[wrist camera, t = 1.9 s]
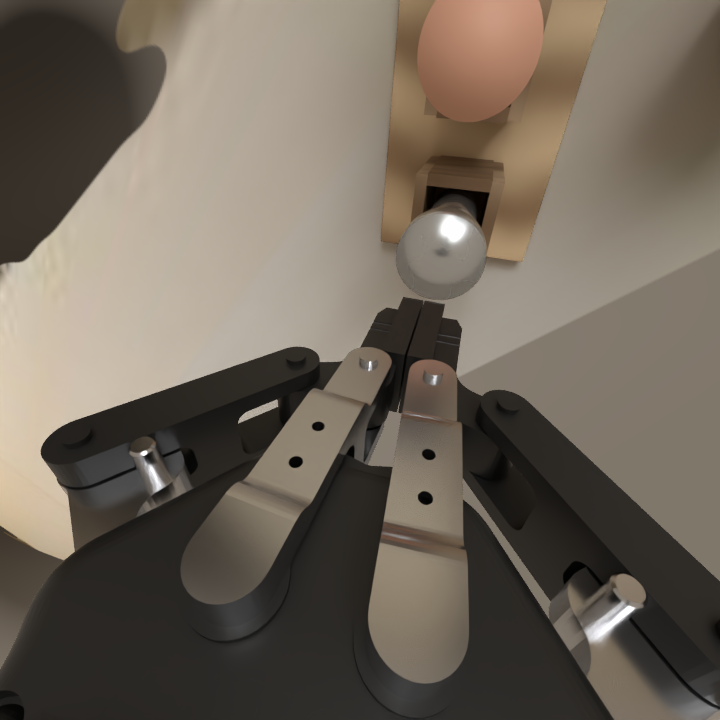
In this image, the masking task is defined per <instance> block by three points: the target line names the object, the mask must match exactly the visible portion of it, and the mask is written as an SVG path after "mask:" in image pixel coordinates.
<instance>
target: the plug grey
mask: <svg viewBox="0 0 720 720" xmlns="http://www.w3.org/2000/svg"><path fill="white" fill-rule="evenodd" d="M477 212H478V204H477V201H476V198H475V196H474V195H473V194H472V193H471V192H470V191H469V190H462V189H453V188H449V189H447V190H445V191H443V192H442V193H441V194H440V195H439V196H438V197H437V199H436V201H435V203H434V205H433V207H432V209H431V210H428V211H426V212H424V213H422V214H420V215H419V216H417V217H416V218H415V219H414V220H413V221H412V222H411V223H410V224H409V225H408V227H407V229H406V230H405V232H404V233H403V235H402V237H401V239H400V241H399V243H398V246H397V251H396V265H397V269H398V272H399V275H400V276H401V278H402V280H403V281H404V283H405V284H406V285H407V286H408V287H409V288H410V289H411V290H412V291H414V292H415V293H417V294H418V295H420V296H423V297H425V298H429V299H434V300H446V299H451V298H455V297H458V296H460V295H462V294H464V293H466V292H467V291H468V290H470V289H471V288H472V287H473V286H474V285H475V284H476V283H477V281H478V280H479V278H480V277H481V275H482V273H483V270H484V267H485V262H486V239H485V235H484V233H483V230H482V228H481V227H480V225H479V224H478V223H477V221H476V219H477Z"/></svg>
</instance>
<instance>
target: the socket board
mask: <svg viewBox="0 0 720 720" xmlns="http://www.w3.org/2000/svg"><path fill="white" fill-rule="evenodd" d="M435 1H436V0H400V3H399V16H398V28H397V41H396V54H395V66H394V79H393V92H392V105H391V117H390V130H389V143H388V155H387V168H386V181H385V194H384V206H383V219H382V232H381V241H383V242H390V243H397V244H398V243H399V241H400V239H401V237H402V235H403V233H404V232H405V230H406V229H407V227H408V225H409V224H410V223H411V222H412V221H413V220H414V219H415V218H416V217H417V216H419V215H420V214H422V213H424V212H426V211H428V210H431V209H432V207H433V205H434V203H435V201H436V199H437V197H438V196H439V195H440V194H441V193H442V192H443V191H445V190H447V189H449V188H453V189H462V190H469V191H470V192H471V193H472V194H473V195H474V196H475V198H476V201H477V204H478V212H477V219H476V221H477V223H478V224H479V225H480V227H481V228H482V230H483V233H484V235H485V239H486V257H493V258H500V259H506V260H513V261H520V262H522V261H523V258H524V255H525V252H526V249H527V246H528V243H529V240H530V237H531V234H532V231H533V228H534V224H535V221H536V218H537V215H538V212H539V209H540V206H541V203H542V200H543V197H544V194H545V191H546V187H547V184H548V181H549V178H550V175H551V172H552V169H553V166H554V163H555V160H556V157H557V154H558V150H559V147H560V144H561V141H562V138H563V135H564V132H565V129H566V126H567V123H568V120H569V116H570V113H571V110H572V107H573V104H574V101H575V98H576V95H577V92H578V89H579V86H580V83H581V79H582V76H583V73H584V70H585V67H586V64H587V61H588V58H589V55H590V52H591V49H592V46H593V42H594V39H595V36H596V33H597V30H598V27H599V24H600V21H601V18H602V15H603V12H604V9H605V5H606V2H607V0H539V2H540V6H541V9H542V15H543V25H544V33H543V43H542V48H541V53H540V57H539V60H538V63H537V66H536V68H535V70H534V73H533V75H532V77H531V78H530V80H529V82H528V84H527V85H526V87H525V88H524V89H523V91H522V92H521V93H520V95H519V96H518V97H517V98H516V99H515V100H514V101H513V102H512V103H511V104H510V105H509V106H508V107H506V108H505V109H504V110H503V111H501V112H499V113H498V114H496V115H494V116H492V117H490V118H488V119H485V120H481V121H476V122H460V121H455V120H452V119H450V118H448V117H446V116H444V115H442V114H441V113H440V112H438V111H437V110H436V109H435V108H434V107H433V106H432V104H431V103H430V102H429V100H428V99H427V97H426V95H425V93H424V91H423V88H422V86H421V83H420V79H419V74H418V65H417V54H418V44H419V38H420V34H421V31H422V27H423V25H424V22H425V19H426V17H427V15H428V13H429V11H430V9H431V7H432V6H433V4H434V2H435Z"/></svg>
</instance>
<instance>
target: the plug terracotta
mask: <svg viewBox="0 0 720 720" xmlns="http://www.w3.org/2000/svg"><path fill="white" fill-rule="evenodd" d="M543 33H544V25H543V15H542V9H541V6H540V2H539V0H436V1H435V2H434V4H433V6H432V7H431V9H430V11H429V13H428V15H427V17H426V19H425V22H424V25H423V27H422V31H421V34H420V38H419V44H418V54H417V65H418V74H419V79H420V83H421V86H422V88H423V91H424V93H425V95H426V97H427V99H428V100H429V102H430V103H431V104H432V106H433V107H434V108H435V109H436V110H437V111H438V112H440V113H441V114H442V115H444V116H446V117H448V118H450V119H452V120H455V121H460V122H476V121H481V120H485V119H488V118H490V117H492V116H494V115H496V114H498V113H499V112H501V111H503V110H504V109H505V108H506V107H508V106H509V105H510V104H511V103H512V102H513V101H514V100H515V99H516V98H517V97H518V96H519V95H520V93H521V92H522V91H523V89H524V88H525V87H526V85H527V84H528V82H529V80H530V78H531V77H532V75H533V73H534V70H535V68H536V66H537V63H538V60H539V57H540V53H541V48H542V43H543Z"/></svg>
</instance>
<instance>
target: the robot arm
mask: <svg viewBox="0 0 720 720" xmlns="http://www.w3.org/2000/svg"><path fill="white" fill-rule="evenodd" d="M444 306H445V304H441V303H435V302H430V301H425V302H424V305H423V300H418V299H412V298H406V297H403V299H402V301H401V304H400V306H399V308H398V310H397V309H392V308H385V309H384V310H382V311H381V312H379V313H378V314H377V316H376V318H375V320H374V323H373V324H372V326H371V329H370V330H369V332H368V334H367V336H366V338H365V339H364V341H363V343H362V345H361V347H360V348H357V349H354V350H352V351H351V352H349V354H348V355H347V356H346V358H345V359H344V360H343V361H341V362H320V359H319V356H318V354H317V353H316V352H315V351H313V350H311V349H309V348H305V347H290V348H286V349H283V350H280V351H277V352H274V353H272V354H269V355H266V356H263V357H260V358H257V359H254V360H251V361H248V362H245V363H242V364H239V365H236V366H233V367H230V368H228V369H225V370H222V371H219V372H216V373H213V374H210V375H207V376H204V377H201V378H198V379H195V380H192V381H189V382H187V383H184V384H181V385H178V386H175V387H172V388H169V389H166V390H163V391H160V392H157V393H154V394H151V395H148V396H145V397H143V398H140V399H137V400H134V401H131V402H128V403H125V404H122V405H119V406H116V407H113V408H110V409H107V410H104V411H101V412H99V413H96V414H93V415H90V416H87V417H84V418H81V419H78V420H75V421H73V422H70V423H68V424H66V425H64V426H62V427H60V428H59V429H57V430H56V431H55V432H53V433H52V434H51V435H50V436H49V437H48V438H47V439H46V440H45V442H44V443H43V445H42V448H41V456H42V458H43V459H44V461H45V462H46V463H47V465H48V466H49V468H50V469H51V470H52V472H53V473H54V474H55V476H56V477H57V481H58V483H59V485H60V486H61V487H62V489H63V490H64V491H65V493H66V494H67V495H68V499H69V507H70V515H71V524H72V532H73V540H74V548H75V552H74V553H73V554H71V555H70V556H69V557H68V558H67V559H65V560H64V561H63V562H62V563H61V564H60V565H59V566H58V567H57V568H56V569H55V570H54V571H53V573H52V574H51V575H50V576H49V577H48V578H47V580H46V581H45V582H44V583H43V585H42V586H41V588H40V589H39V591H38V592H37V594H36V595H35V597H34V599H33V601H32V602H31V604H30V606H29V608H28V611H27V613H26V615H25V618H24V620H23V623H22V626H21V628H20V631H19V633H18V635H17V638H16V640H15V642H14V644H13V646H12V648H11V650H10V653H9V655H8V657H7V658H6V660H5V662H4V664H3V666H2V667H1V669H0V720H719V719H720V581H719V580H718V579H717V578H715V577H714V576H713V575H712V574H711V573H710V572H709V571H708V570H707V569H706V568H705V567H704V566H703V565H702V564H701V563H699V562H698V561H697V560H696V559H695V558H694V557H693V556H692V555H691V554H690V553H689V552H688V551H687V550H685V548H683V547H682V546H681V545H680V544H679V543H678V542H677V541H676V540H675V539H674V538H673V537H672V536H671V535H670V534H669V533H667V532H666V531H665V530H664V529H663V528H662V527H661V526H660V525H659V524H658V523H657V522H656V521H655V520H654V519H652V518H651V517H650V516H649V515H648V514H647V513H646V512H645V511H644V510H643V509H641V507H640V506H639V505H638V504H637V503H636V502H634V501H633V500H632V499H631V498H630V497H629V496H628V495H627V494H626V493H625V492H624V491H623V490H622V489H621V488H619V487H618V486H617V485H616V484H615V483H614V482H613V481H612V480H611V479H610V478H609V477H608V476H607V475H606V474H605V473H603V472H602V471H601V470H600V469H599V468H598V467H597V466H596V465H595V464H594V463H593V462H592V461H591V460H590V459H588V458H587V457H586V456H585V455H584V454H583V453H582V452H581V451H580V450H579V449H578V448H577V447H576V446H575V445H574V444H573V443H572V442H570V441H569V440H568V439H567V438H566V437H565V436H564V435H563V434H562V433H561V432H560V431H559V430H558V429H557V428H556V427H554V426H553V425H552V424H551V423H550V422H549V421H548V420H547V419H546V418H545V417H544V416H543V415H542V414H541V413H539V412H538V411H537V410H536V409H535V408H534V407H533V406H532V405H531V404H530V403H529V402H528V401H527V400H525V399H524V398H523V397H521V396H519V395H517V394H515V393H512V392H509V391H505V390H492V391H489V392H487V393H485V394H484V395H483V396H481V395H478V394H476V393H474V392H472V391H470V390H468V389H467V388H466V387H464V386H463V385H462V384H461V383H460V381H459V380H458V378H457V375H456V369H457V361H458V354H459V347H460V338H461V332H462V328H461V326H460V325H459V323H458V321H457V320H453V319H447V318H442V316H443V311H444ZM276 399H277V400H278V407H277V408H274V409H272V410H270V411H267V412H265V413H263V414H260V415H258V416H255V417H253V418H251V419H248V420H246V421H244V422H241V423H239V424H238V420H239V418H240V417H241V416H242V415H243V414H244V413H245V412H247V411H249V410H252V409H254V408H257V407H259V406H262V405H264V404H266V403H269V402H271V401H274V400H276ZM399 402H400V406H399V413H402V416H401V421H400V427H399V433H398V439H397V446H396V451H395V457H394V462H393V467H382V466H369V465H368V463H369V461H370V458H371V455H372V454H373V452H374V449H375V447H376V445H377V442H378V440H379V438H380V436H381V433H382V431H383V428H384V421H385V420H386V418H387V415H388V412H389V411H393V412H397V409H398V405H399ZM521 474H522V475H521ZM463 479H464V480H465V481H466V483H467V484H468V486H469V487H470V489H471V490H472V491H473V493H474V494H475V496H476V497H477V498H478V500H479V501H480V503H481V504H482V506H483V507H484V508H485V510H486V511H487V513H488V514H489V515H490V517H491V518H492V520H493V521H494V522H495V524H496V525H497V527H498V528H499V529H500V531H501V532H502V534H503V535H504V536H505V538H506V539H507V541H508V542H509V543H510V545H511V546H512V548H513V549H514V551H515V552H516V553H517V554H518V556H519V557H520V559H521V560H522V562H523V563H524V565H525V566H526V567H527V569H528V570H529V572H530V573H531V574H532V576H533V577H534V579H535V580H536V581H537V583H538V584H539V586H540V587H541V588H542V590H543V591H544V593H545V594H546V596H547V597H548V598H549V600H550V601H551V603H550V606H549V618H548V617H547V615H546V614H545V612H544V611H543V609H542V608H541V606H540V605H539V603H538V601H537V600H536V599H535V597H534V595H533V594H532V592H531V591H530V589H529V588H528V586H527V585H526V583H525V581H524V580H523V578H522V577H521V575H520V574H519V572H518V571H517V570H516V568H515V566H514V565H513V563H512V562H511V560H510V559H509V557H508V555H507V554H506V552H505V551H504V549H503V548H502V546H501V545H500V543H499V542H498V540H497V538H496V537H495V535H494V534H493V532H492V531H491V529H490V528H489V526H488V525H487V523H486V522H485V521H484V520H483V518H482V517H481V516H480V515H479V513H477V512H476V511H475V510H474V509H473V508H472V507H471V506H470V505H469V504H468V503H467V502H465V501H464V500H463Z"/></svg>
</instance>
